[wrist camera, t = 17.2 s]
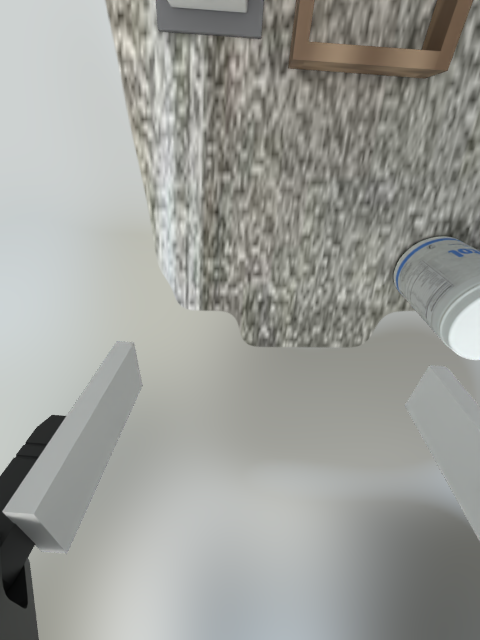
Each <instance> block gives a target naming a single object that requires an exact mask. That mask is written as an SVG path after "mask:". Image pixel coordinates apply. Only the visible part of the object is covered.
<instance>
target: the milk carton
mask: <svg viewBox="0 0 480 640" xmlns="http://www.w3.org/2000/svg"><path fill="white" fill-rule="evenodd" d="M167 1H168V2H169V4H170V5H171V7H177V8H190V9H203V10H216V11H228V12H241V13H246V12H247V4H248V0H167Z"/></svg>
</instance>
